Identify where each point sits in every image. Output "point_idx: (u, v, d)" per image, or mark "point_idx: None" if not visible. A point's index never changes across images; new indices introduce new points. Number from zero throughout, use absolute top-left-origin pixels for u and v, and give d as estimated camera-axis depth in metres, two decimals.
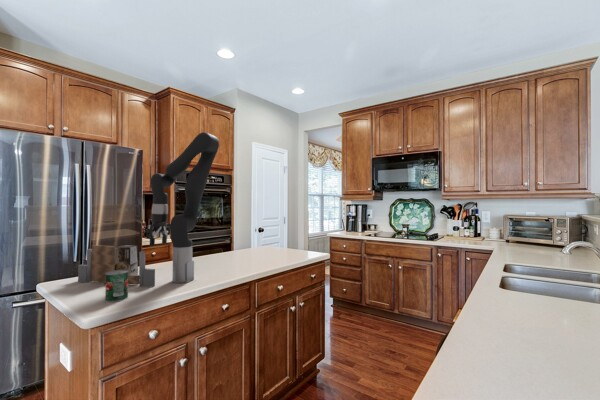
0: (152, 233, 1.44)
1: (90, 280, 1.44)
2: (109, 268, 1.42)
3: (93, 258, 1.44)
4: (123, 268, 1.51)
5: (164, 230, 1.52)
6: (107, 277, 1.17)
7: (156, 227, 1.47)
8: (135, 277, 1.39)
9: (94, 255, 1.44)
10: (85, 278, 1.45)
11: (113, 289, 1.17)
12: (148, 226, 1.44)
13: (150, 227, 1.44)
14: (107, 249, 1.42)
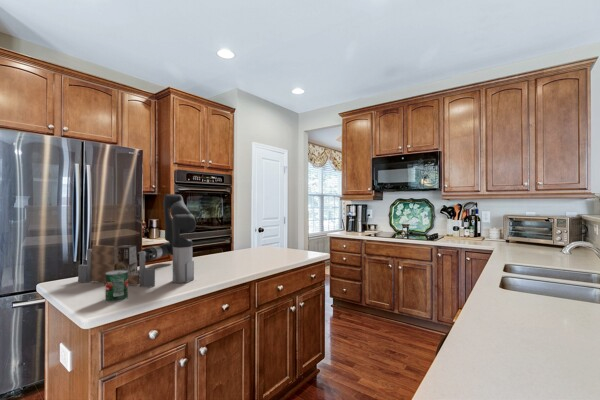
0: None
1: (90, 280, 1.44)
2: (109, 268, 1.42)
3: (93, 258, 1.44)
4: (122, 268, 1.51)
5: None
6: (107, 277, 1.17)
7: None
8: (135, 277, 1.39)
9: (94, 255, 1.44)
10: (85, 278, 1.45)
11: (113, 289, 1.17)
12: None
13: None
14: (107, 249, 1.42)
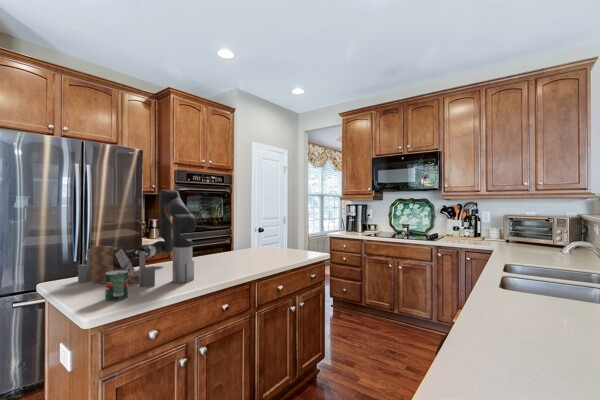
0: None
1: None
2: (108, 268, 1.41)
3: (91, 259, 1.43)
4: None
5: (135, 251, 1.59)
6: (107, 277, 1.17)
7: None
8: (135, 277, 1.39)
9: (92, 255, 1.43)
10: (85, 278, 1.45)
11: (113, 289, 1.17)
12: None
13: None
14: (106, 249, 1.41)
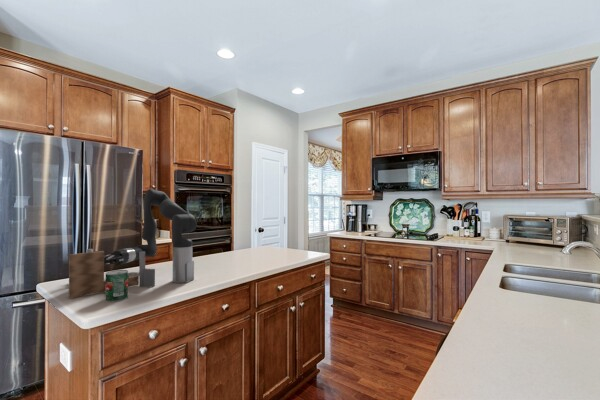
0: None
1: None
2: (99, 276, 1.27)
3: (73, 270, 1.20)
4: None
5: (110, 256, 1.44)
6: (107, 277, 1.17)
7: None
8: (136, 278, 1.38)
9: (74, 266, 1.21)
10: None
11: (113, 289, 1.17)
12: None
13: None
14: (96, 255, 1.26)
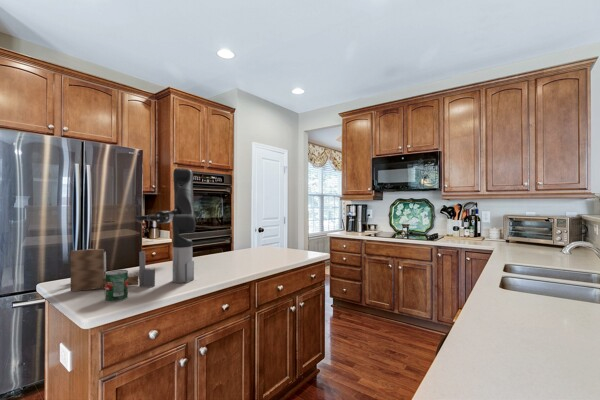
0: None
1: None
2: (98, 273, 1.32)
3: (73, 265, 1.29)
4: None
5: (157, 215, 1.71)
6: (107, 277, 1.17)
7: None
8: (135, 277, 1.38)
9: (75, 261, 1.29)
10: None
11: (113, 289, 1.17)
12: None
13: None
14: (96, 252, 1.32)
